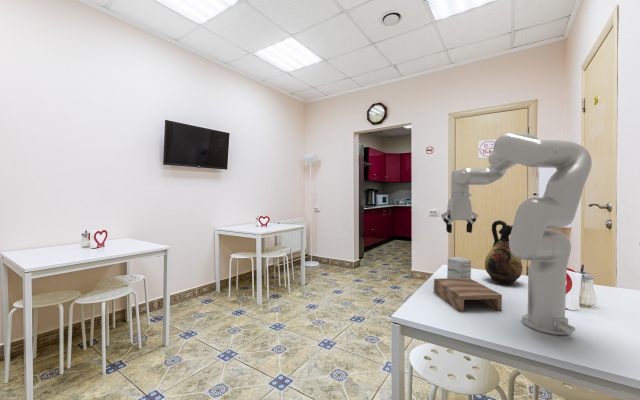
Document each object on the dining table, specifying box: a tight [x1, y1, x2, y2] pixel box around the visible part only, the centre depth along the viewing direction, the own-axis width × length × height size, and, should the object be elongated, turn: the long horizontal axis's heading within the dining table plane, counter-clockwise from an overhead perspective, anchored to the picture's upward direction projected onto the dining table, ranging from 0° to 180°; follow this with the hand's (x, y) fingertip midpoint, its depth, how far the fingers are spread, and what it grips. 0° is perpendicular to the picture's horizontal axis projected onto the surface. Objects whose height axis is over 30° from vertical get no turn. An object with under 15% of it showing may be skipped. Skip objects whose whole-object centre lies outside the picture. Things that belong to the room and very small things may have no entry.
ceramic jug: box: [484, 219, 523, 286], centre depth 135 cm, size 17×15×30 cm
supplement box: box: [446, 256, 472, 279], centre depth 130 cm, size 7×7×13 cm
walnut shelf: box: [433, 278, 503, 313], centre depth 111 cm, size 20×16×6 cm
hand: (459, 232), depth 129 cm, fingers open, 9 cm apart
